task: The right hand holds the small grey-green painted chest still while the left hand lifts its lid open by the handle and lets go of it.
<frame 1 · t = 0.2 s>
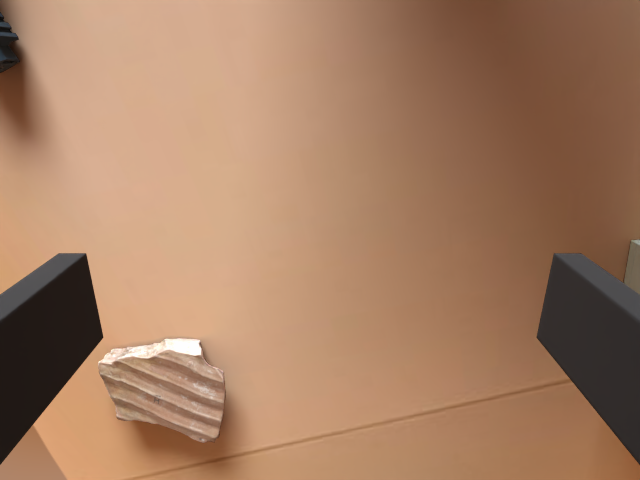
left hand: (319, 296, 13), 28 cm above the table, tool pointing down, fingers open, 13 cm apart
stone: (175, 387, 48), on the table
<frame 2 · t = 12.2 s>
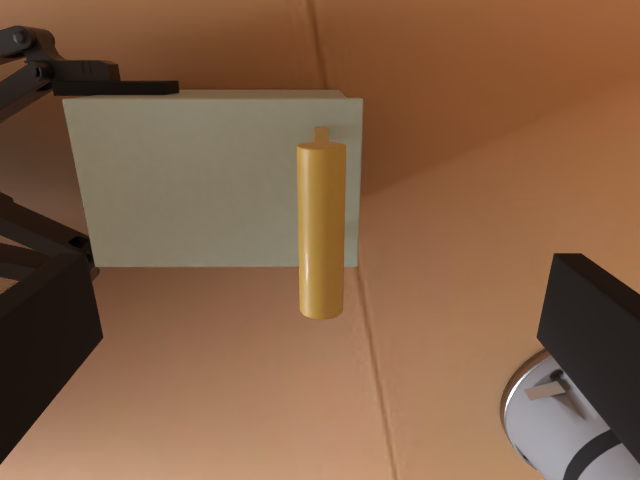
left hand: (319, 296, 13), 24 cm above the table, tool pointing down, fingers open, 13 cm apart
chest: (246, 152, 35), on the table, touching right hand
lid: (205, 206, 21), point 15 cm above the table, hinge at 0.0°
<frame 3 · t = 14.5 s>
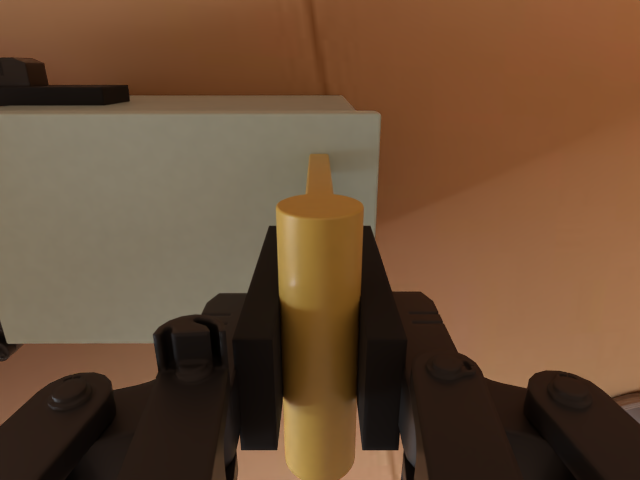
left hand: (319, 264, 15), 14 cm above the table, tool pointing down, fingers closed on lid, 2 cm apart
chest: (225, 173, 28), on the table, touching right hand
lid: (144, 278, 14), point 15 cm above the table, hinge at -0.1°, touching left hand
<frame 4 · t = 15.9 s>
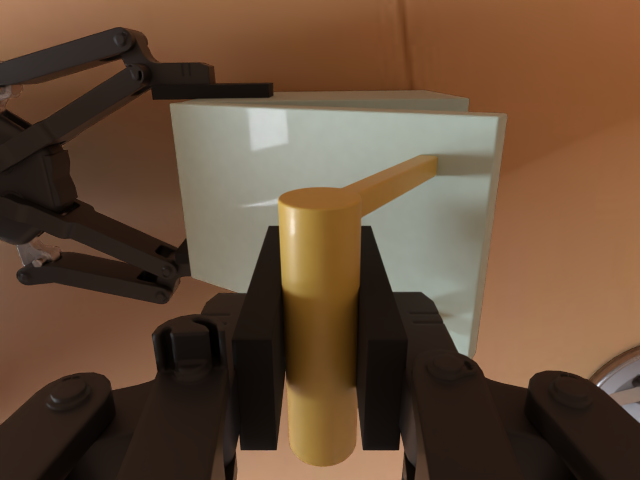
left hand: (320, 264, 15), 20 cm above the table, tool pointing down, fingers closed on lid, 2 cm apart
right hand: (275, 174, 28), fingers closed on chest, 9 cm apart
chest: (325, 155, 34), on the table, touching right hand
lid: (249, 244, 17), point 18 cm above the table, hinge at 32.6°, touching left hand
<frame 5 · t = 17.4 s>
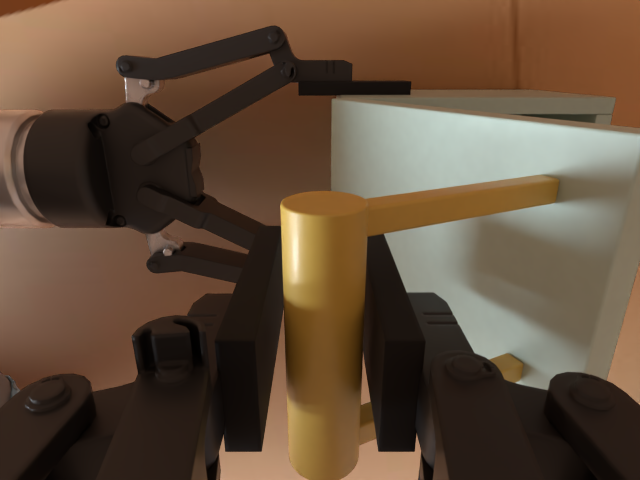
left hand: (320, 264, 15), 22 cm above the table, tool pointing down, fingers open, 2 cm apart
right hand: (401, 169, 29), fingers closed on chest, 9 cm apart
chest: (428, 152, 35), on the table, touching right hand
lid: (345, 242, 17), point 20 cm above the table, hinge at 63.4°
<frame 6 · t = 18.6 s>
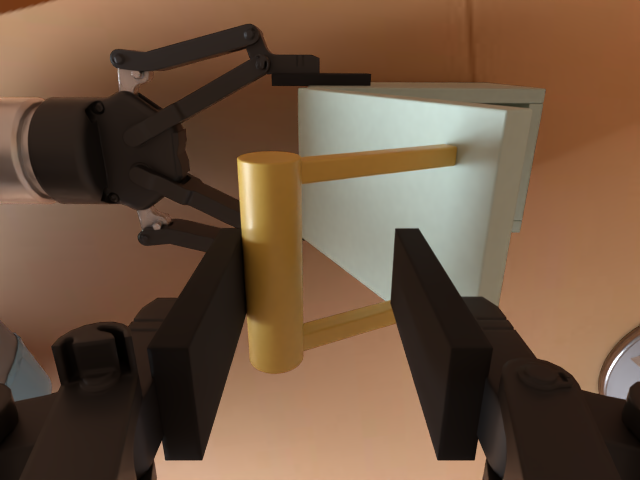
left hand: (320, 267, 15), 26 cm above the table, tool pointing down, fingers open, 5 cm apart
right hand: (365, 152, 32), fingers closed on chest, 9 cm apart
chest: (395, 139, 38), on the table, touching right hand
lid: (302, 205, 20), point 20 cm above the table, hinge at 62.3°, touching left hand
when the right hand's fingers open (7 cm above the table, at t = 21.7 s): chest stays where it is, on the table.
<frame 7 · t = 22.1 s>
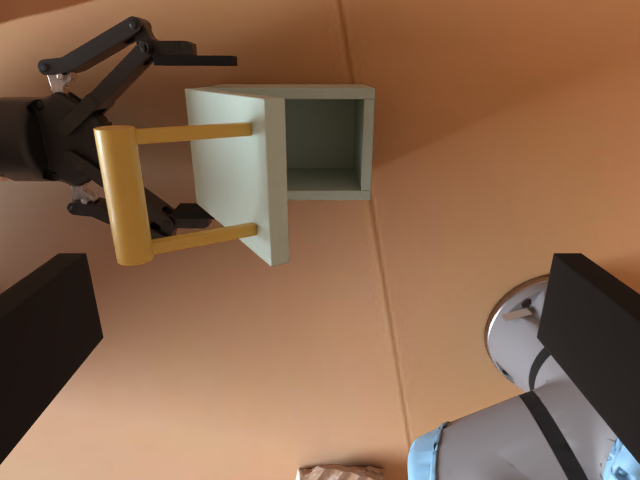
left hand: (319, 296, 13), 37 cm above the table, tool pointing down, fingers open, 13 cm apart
right hand: (239, 140, 41), fingers open, 13 cm apart
chest: (293, 130, 47), on the table
lid: (171, 169, 29), point 20 cm above the table, hinge at 59.5°
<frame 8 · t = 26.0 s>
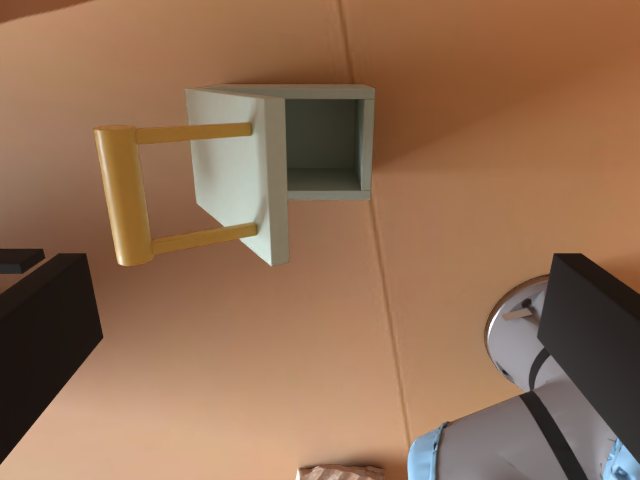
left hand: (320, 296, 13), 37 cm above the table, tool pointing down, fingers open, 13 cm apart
chest: (293, 130, 47), on the table
lid: (171, 169, 29), point 20 cm above the table, hinge at 59.5°
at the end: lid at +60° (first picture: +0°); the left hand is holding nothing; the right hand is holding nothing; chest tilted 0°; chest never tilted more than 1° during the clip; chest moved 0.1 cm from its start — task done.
